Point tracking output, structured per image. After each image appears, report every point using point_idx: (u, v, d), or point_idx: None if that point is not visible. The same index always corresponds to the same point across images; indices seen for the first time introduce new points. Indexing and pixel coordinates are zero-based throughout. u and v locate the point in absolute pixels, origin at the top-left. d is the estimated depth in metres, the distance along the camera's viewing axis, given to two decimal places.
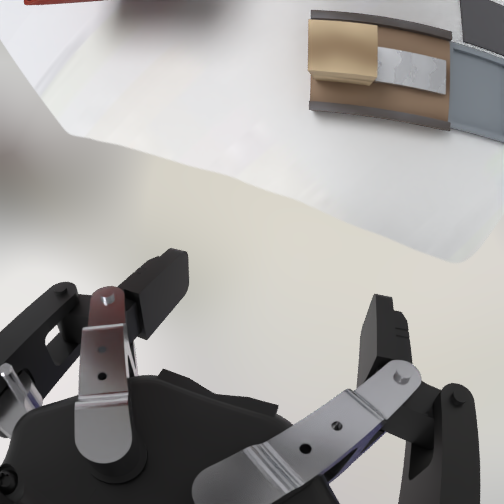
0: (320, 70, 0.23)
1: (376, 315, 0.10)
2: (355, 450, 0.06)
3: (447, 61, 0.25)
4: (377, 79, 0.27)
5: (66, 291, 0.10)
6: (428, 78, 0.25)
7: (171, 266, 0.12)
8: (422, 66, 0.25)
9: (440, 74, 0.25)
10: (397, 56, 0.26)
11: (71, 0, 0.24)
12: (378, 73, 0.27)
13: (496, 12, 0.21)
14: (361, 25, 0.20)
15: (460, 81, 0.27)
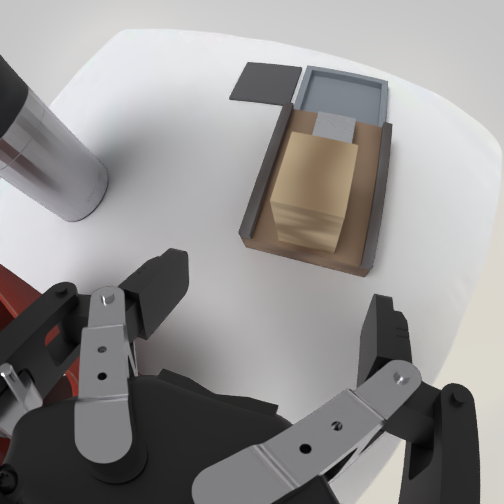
0: (346, 203, 0.20)
1: (376, 315, 0.10)
2: (355, 450, 0.06)
3: (316, 115, 0.32)
4: None
5: (67, 291, 0.10)
6: (340, 130, 0.29)
7: (171, 266, 0.12)
8: (326, 133, 0.29)
9: (334, 118, 0.30)
10: None
11: None
12: None
13: (253, 72, 0.39)
14: (290, 146, 0.22)
15: None
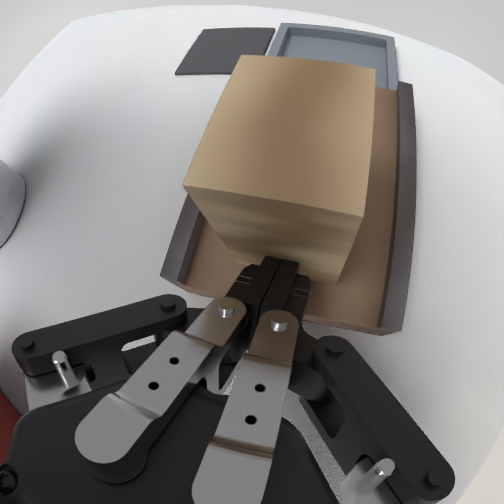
0: (365, 182, 0.08)
1: (275, 275, 0.12)
2: None
3: None
4: None
5: (173, 308, 0.10)
6: None
7: (274, 274, 0.12)
8: None
9: None
10: None
11: None
12: None
13: (209, 40, 0.27)
14: (235, 77, 0.10)
15: None
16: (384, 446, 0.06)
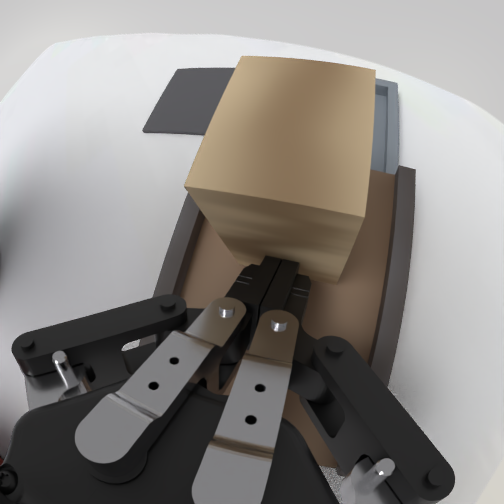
0: (366, 182, 0.08)
1: (275, 275, 0.12)
2: None
3: None
4: None
5: (173, 308, 0.10)
6: None
7: (274, 274, 0.12)
8: None
9: None
10: None
11: None
12: None
13: (182, 84, 0.25)
14: (236, 78, 0.10)
15: None
16: (384, 446, 0.06)
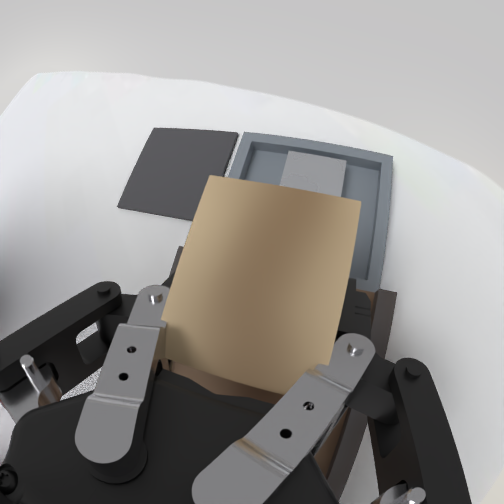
0: (326, 364, 0.08)
1: None
2: (329, 425, 0.07)
3: None
4: None
5: (109, 292, 0.10)
6: None
7: None
8: None
9: None
10: None
11: None
12: None
13: (158, 150, 0.25)
14: (201, 212, 0.10)
15: None
16: (423, 476, 0.05)
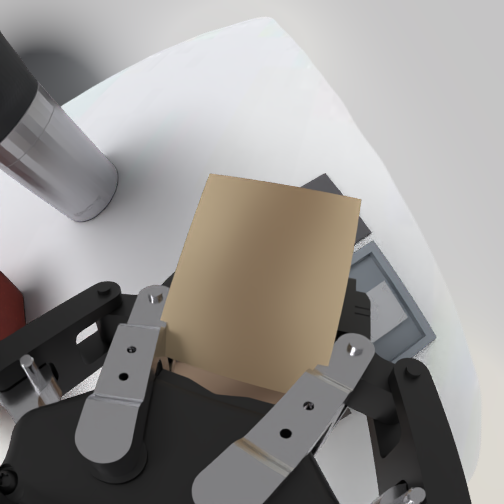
0: (326, 362, 0.08)
1: None
2: (329, 425, 0.07)
3: None
4: None
5: (109, 292, 0.10)
6: None
7: None
8: None
9: None
10: None
11: None
12: None
13: None
14: (201, 211, 0.10)
15: None
16: (423, 475, 0.05)
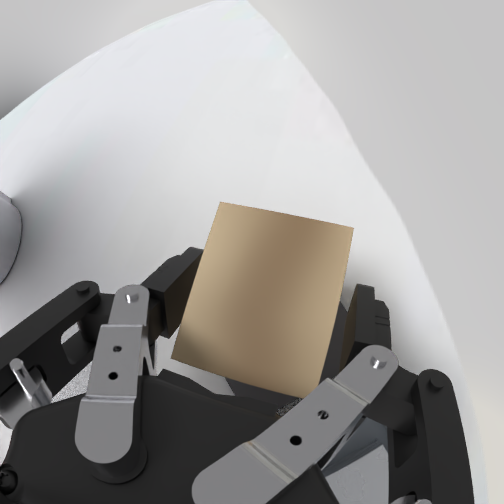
0: (320, 368, 0.10)
1: (357, 303, 0.11)
2: (343, 437, 0.06)
3: None
4: None
5: (88, 290, 0.10)
6: None
7: (193, 265, 0.12)
8: None
9: None
10: None
11: None
12: None
13: None
14: (213, 236, 0.11)
15: None
16: (433, 488, 0.04)
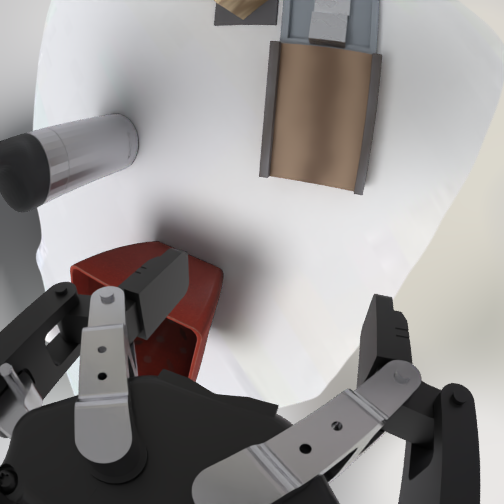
0: None
1: (376, 315, 0.10)
2: (355, 450, 0.06)
3: (305, 47, 0.29)
4: (343, 40, 0.27)
5: (67, 291, 0.10)
6: None
7: (171, 266, 0.12)
8: None
9: None
10: (317, 22, 0.27)
11: (197, 373, 0.44)
12: (337, 38, 0.27)
13: None
14: None
15: None
16: (441, 502, 0.04)
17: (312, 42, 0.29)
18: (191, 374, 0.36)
